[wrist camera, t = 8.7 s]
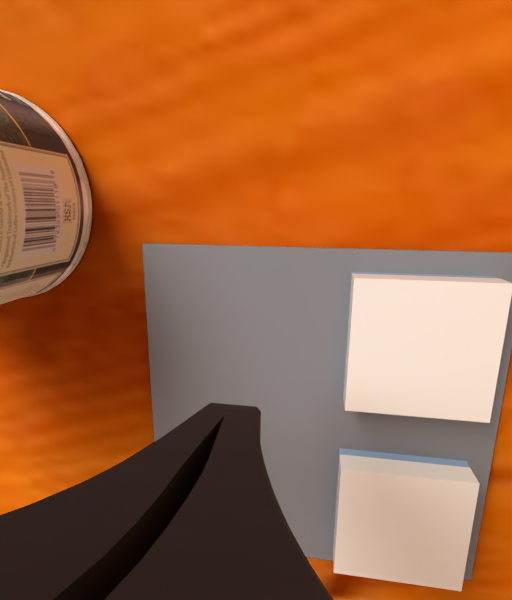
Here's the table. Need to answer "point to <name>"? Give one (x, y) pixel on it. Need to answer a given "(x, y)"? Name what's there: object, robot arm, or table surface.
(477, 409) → the tile
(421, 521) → the tile
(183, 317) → the mat
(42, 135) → the coffee can
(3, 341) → the table surface
